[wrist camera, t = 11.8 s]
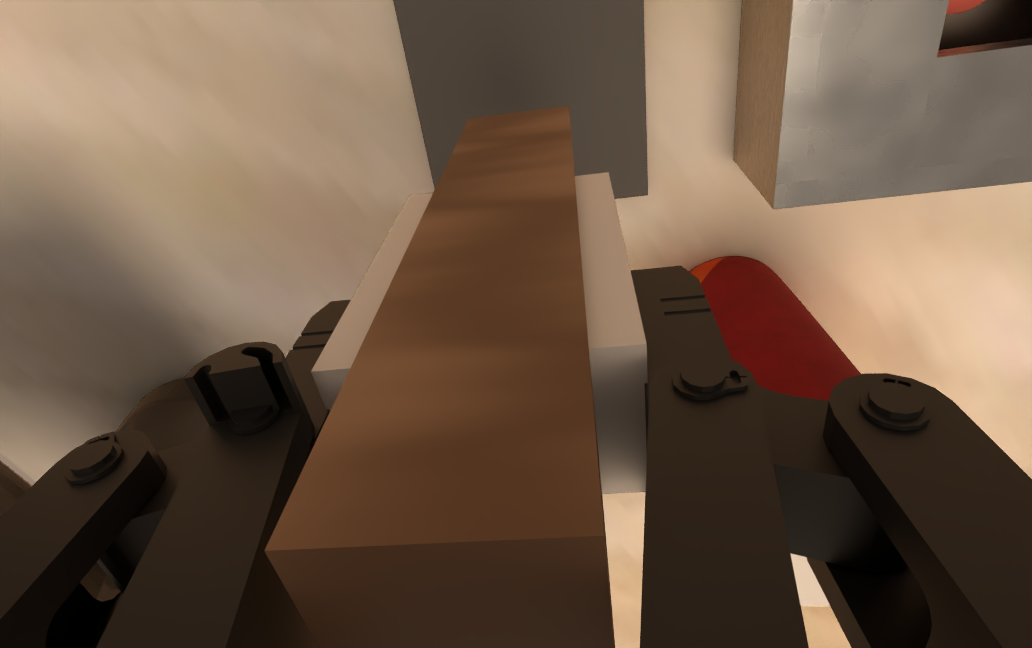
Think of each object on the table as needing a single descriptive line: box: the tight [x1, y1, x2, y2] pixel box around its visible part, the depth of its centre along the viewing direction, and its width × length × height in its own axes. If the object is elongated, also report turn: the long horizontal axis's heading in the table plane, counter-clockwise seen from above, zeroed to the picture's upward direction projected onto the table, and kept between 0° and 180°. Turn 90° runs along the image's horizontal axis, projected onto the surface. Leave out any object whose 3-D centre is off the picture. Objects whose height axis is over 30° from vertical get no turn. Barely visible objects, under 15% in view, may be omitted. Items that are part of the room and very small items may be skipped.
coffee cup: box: [690, 256, 861, 607], centre depth 26 cm, size 8×8×15 cm
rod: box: [264, 106, 615, 648], centre depth 12 cm, size 3×3×15 cm
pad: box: [393, 0, 648, 199], centre depth 26 cm, size 10×10×1 cm
